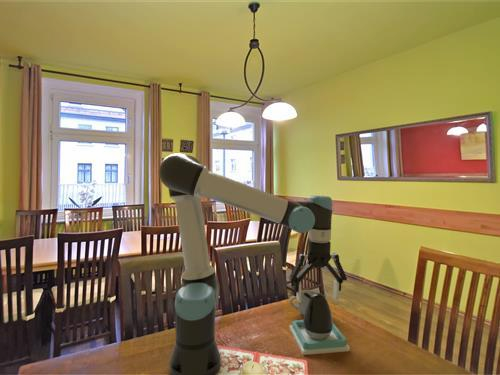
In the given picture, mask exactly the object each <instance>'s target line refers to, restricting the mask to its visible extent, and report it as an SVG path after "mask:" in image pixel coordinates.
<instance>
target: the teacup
mask: <svg viewBox="0 0 500 375" xmlns="http://www.w3.org/2000/svg"><path fill="white" fill-rule="evenodd" d="M305 292H306V293H308V294H309V295H311V296H312V295H313V294H315V293H319V292H318V291H315V290H311V289H305V290H301V303H298V301H297V300H296V296H295V295H293V296H290V298H289V304H290V306H292V307H293V308H295V310H296V311H299V312H300V314H302V315H303V316H304V313H305V309H306V306H307V303H308V301H309V298H307V297H306V296H305V295H304V293H305ZM293 300H296V303H297V305H296V304H294V303H293Z"/></svg>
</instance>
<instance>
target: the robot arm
mask: <svg viewBox="0 0 500 375" xmlns="http://www.w3.org/2000/svg"><path fill="white" fill-rule="evenodd" d="M158 175H159V179H160V181H161V183H162V184H163V185H164V186H165V187H166V188H168V193H169V194H168V195H169V198H170V199H172V200H173V201H174V202H175V203H174V204H175V210H176V216H177V222H178V223H177V224H178V230H179V236H180V237H179V238H180V245H181V249H182V257H183V264H184V271H183V273H182V274H181V281H182V282H181V283H182V287H180V288H179V289H178V291H177V292H176V294H175V299H174V310H175V311H174V315H175V316H174V318H175V319H174V322H175V323H174V325H175V343H174V345H173V346H174V347H173V350H172V353H171V356H170V358H169V374H170V375H216V374H218V372H219V370H220V368H221V361H222V360H221V354H220V350H219V348H218V345H217V341H216V336H215V334H216V326H215V325H216V319H215V318H216V309H217V304H218V299H219V295H220V283H219V280H218V278H217V274H216V269H215V267H213V266H212V264H211V263H210V255H209V247H208V242H207V241H208V240H207V233H206V227H205V220H204V212H203V206H202V205H203V203H202V197H205V198H208V199H211V200H213V201H216V202H218V203H221V204H224V205H227V206H230V207H232V208H234V209H235V208H236V209H238V210H241V211H243V212H246V213H249V214H252V215H254V216H256V217H260V218H263V219H265V220H268V221H271V222H274V223H277V224H278V225H282V226H284V227H287V228H289V229H291V230H292V231H294V232H296V233H299V234H304V233H308V239H309V240H308V242H307V244H308V245H307V246H308V248H307V250H308V251H307V254H303V253H299V254H298V259H297V261H296V263H295V265H294V266H293V269H292V270H291V272H290V275H289V276H288V279H289V280H290V282H292V283H293V290H294V292H295V293H296V299H295V300H296V302H297V301H298V303H301V291H302V283H301V282H302V280H303V279H304V278H305V277H306V275H307V274H308V273H309V272H310V271H311V270H312V269H313V268H315V269H316V268H323V269H324V268H327V270H328V271H329V272H330V273H331V275H332V276H333V278H334V279H333V288H332V290H333V292H332V299H333V300H334V301H335V302H339V297H340V295H339V294H340V292H341V291H342V284H343V283H344V281H345V282H346V281H347V280H348V277H347V275H346V273H345V271H344V268H343V266H342V264H341V262H340V256H339V254H337V253H336V252H333V253H332V254H331V246H332V245H331V239H332V218H333V216H332V215H333V200H332V197H330V196H327V195H311V196H310V197H309V200H306V201H297V200H296V201H295V200H293V201H291V200H288V199H285V198H282V197H280V196H277V195H274V194H272V193H269V192H266V191H264V190H261V189H258V188H256V187H254V186H250V185H247V184H244V183H243V182H240V181H237V180H234V179H231V178H229V177H226V176H224V175H221V174H218V173H216V172H213V171H210V170H209V169H208V166H207V165H204V164H201V163H200V161H199V160H198V159H197V158H196V157H194V156H192V155H189V154H184V153H179V152H178V153H172V154H169V155H166V157H165V158H164V159H163V160H162V161H161V163H160V165H159V168H158ZM306 260H307V262H306V263H305V266H303V265H304V262H305V261H306ZM331 260H332V261H333V262H334V265H335V267H336V269H337V271H338V273H337V272H336V271H335V269H334V268H333V267H332V265H331V263H330V261H331ZM302 267H303V268H302ZM301 268H302V269H301Z"/></svg>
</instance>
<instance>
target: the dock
mask: <svg viewBox="0 0 500 375" xmlns="http://www.w3.org/2000/svg"><path fill="white" fill-rule="evenodd" d="M288 329H289V330H290V333H291V335H292V336H293V338H294V340H295V342H296V344H297V347H298V348H299V350H300V352H301V354H302V355H303V356H306V355H318V354H319V355H320V354H331V353H344V352H350V350H351V347H350V346H349V345H348V344H347V342H348V340H347V338H346V337H345V335H344V334H343V333H342V332H341V330H339V328H338V327H337V326H336V324H334V322H333V329H332V331H331V333H330V335H329V336H328V337H327V338H325V339H322V340H317V339H314V338H312V337H310V336H309V335H308V334H307V333H306V331H305V328H304V326H303V319H298V320H297V319H296V320H294V321H293V320H292V321H291V324H290V325H289V328H288Z"/></svg>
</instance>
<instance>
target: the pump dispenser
mask: <svg viewBox="0 0 500 375" xmlns="http://www.w3.org/2000/svg"><path fill="white" fill-rule="evenodd" d="M304 295H305V296H306V297H307V298H309V301H308V303H307V306H306V309H305V313H304V315H303V319H302V320H303V326H304V328H305V331H306V333H307V334H308V335H309V336H310V337H312V338H314V339H317V340H322V339H325V338H327V337H328V336H329V335H330V333H331V331H332V329H333V323H334V321H333V314H332V310H331V307H330V303H329V301H328V300H327V298H326V296H325V295H324V294H322V293H321V292H318V293H315V294H313V295H312V296H311V295H309V294H308V293H306V292H305V293H304Z"/></svg>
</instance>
